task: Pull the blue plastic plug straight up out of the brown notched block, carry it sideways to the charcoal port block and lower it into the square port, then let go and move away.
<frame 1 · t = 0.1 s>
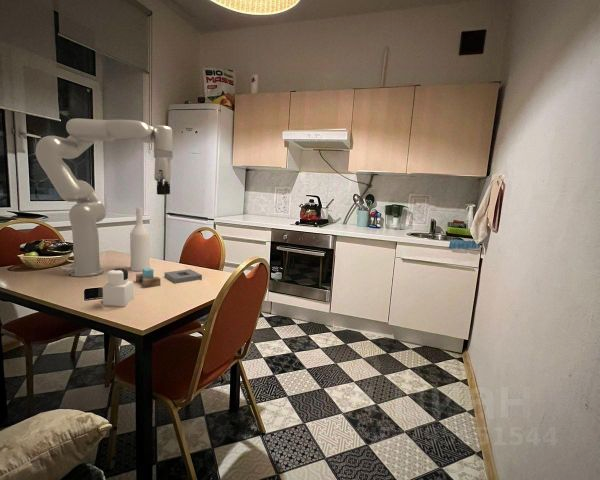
hand: (163, 194, 142), 37 cm above the table, tool pointing down, fingers open, 9 cm apart
port block: (183, 279, 142), on the table
brown notched block: (148, 284, 132), on the table
plug: (148, 283, 132), resting on brown notched block
medicine bottle: (118, 303, 110), on the table
bottle: (140, 269, 154), on the table
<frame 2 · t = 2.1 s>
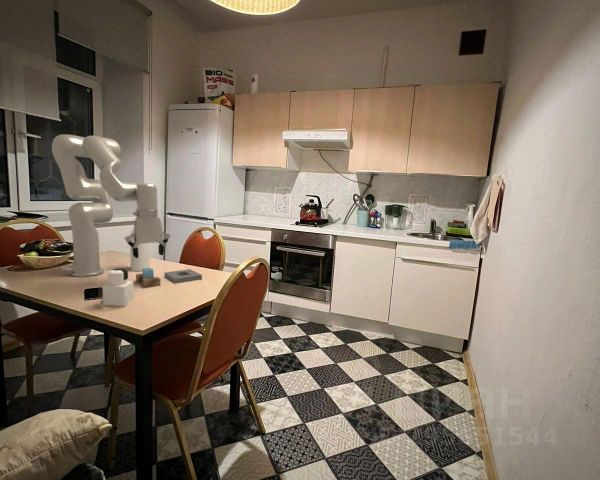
hand: (149, 256, 130), 12 cm above the table, tool pointing down, fingers open, 9 cm apart
nothing on the table moved.
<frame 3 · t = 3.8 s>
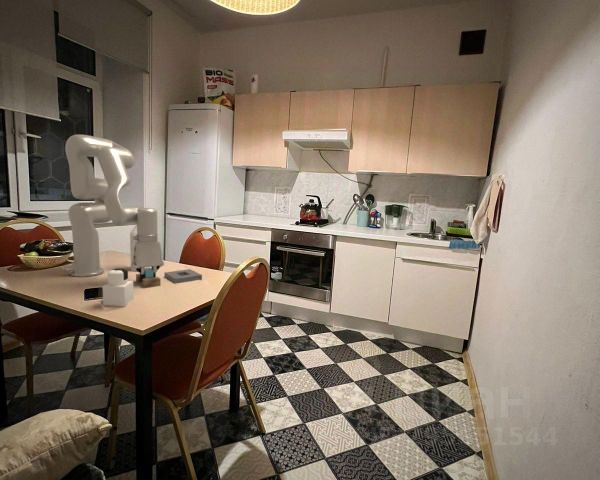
hand: (148, 281, 132), 1 cm above the table, tool pointing down, fingers closed on plug, 2 cm apart
plug: (148, 283, 132), point 1 cm above the table, touching gripper, brown notched block
everything else where it was.
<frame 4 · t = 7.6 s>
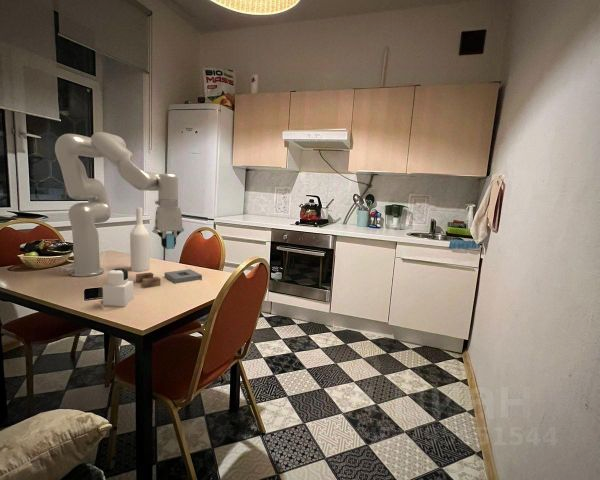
hand: (168, 246, 135), 16 cm above the table, tool pointing down, fingers closed on plug, 2 cm apart
plug: (168, 248, 135), point 15 cm above the table, touching gripper
everything else where it was.
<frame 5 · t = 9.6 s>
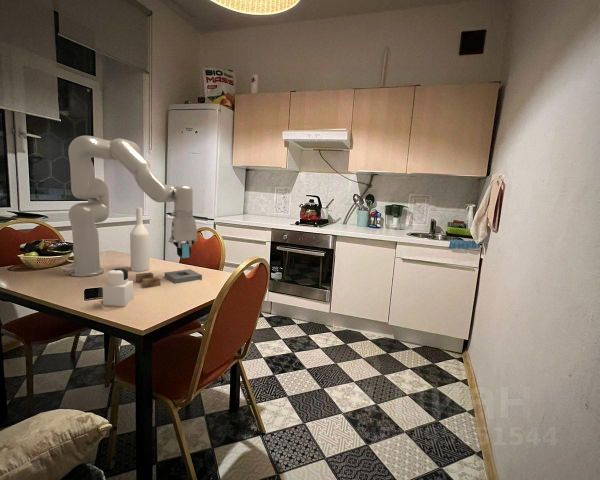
hand: (183, 255, 141), 11 cm above the table, tool pointing down, fingers closed on plug, 2 cm apart
plug: (184, 256, 141), point 10 cm above the table, touching gripper
everything else where it was.
when the fingers open (3 cm above the table, at t = 11.4 s): plug drops 2 cm, resting in port block.
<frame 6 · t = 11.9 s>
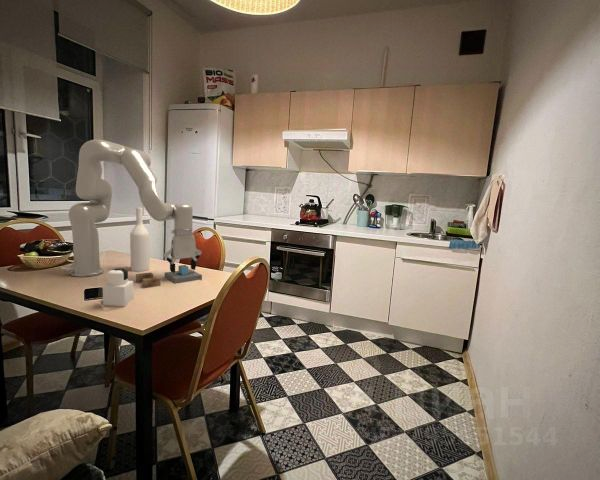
hand: (183, 270, 142), 4 cm above the table, tool pointing down, fingers open, 8 cm apart
plug: (183, 279, 142), resting in port block
everything else where it was.
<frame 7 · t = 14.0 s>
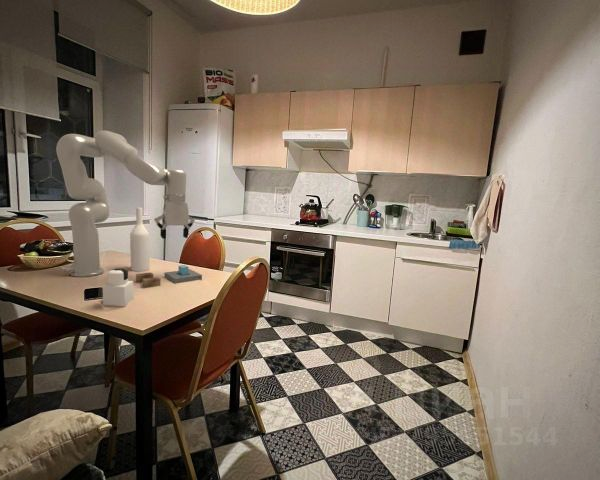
hand: (174, 237, 139), 19 cm above the table, tool pointing down, fingers open, 9 cm apart
nothing on the table moved.
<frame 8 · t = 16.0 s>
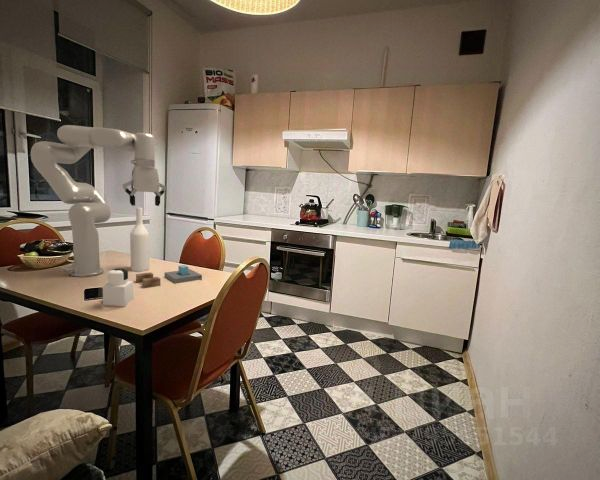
hand: (145, 205, 134), 32 cm above the table, tool pointing down, fingers open, 9 cm apart
nothing on the table moved.
at the end: plug 0.1 cm off-centre on the port block, point 0.0 cm above the port block's base; plug tilted 0°; the gripper is holding nothing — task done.
